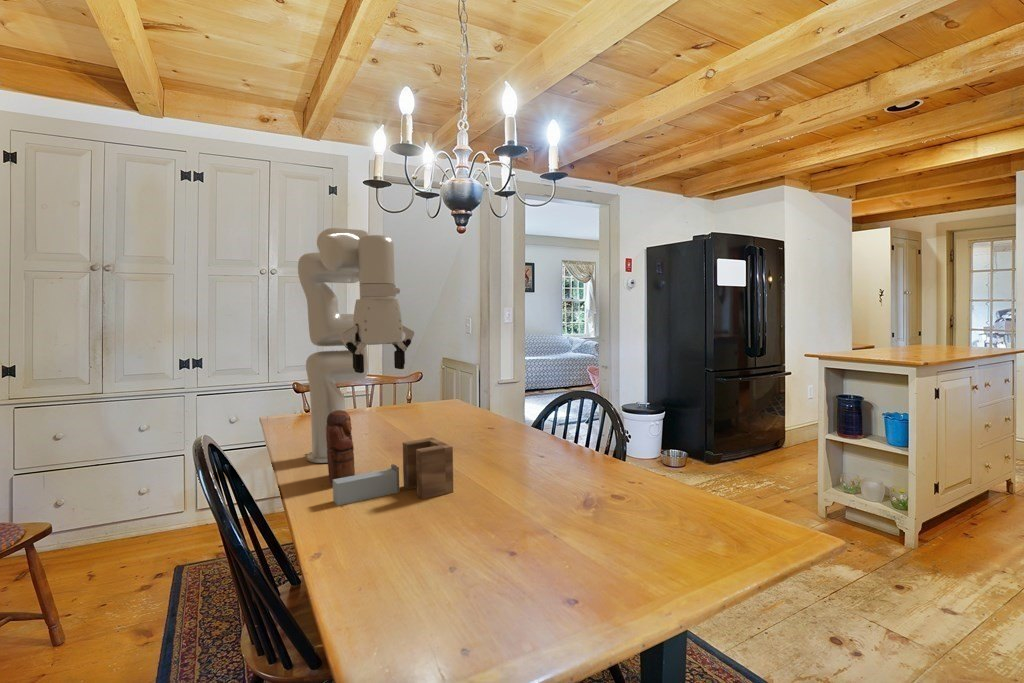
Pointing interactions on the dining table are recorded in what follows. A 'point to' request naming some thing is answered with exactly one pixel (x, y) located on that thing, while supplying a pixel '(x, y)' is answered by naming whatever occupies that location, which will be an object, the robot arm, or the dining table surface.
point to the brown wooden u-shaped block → (428, 467)
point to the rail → (366, 486)
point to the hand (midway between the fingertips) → (379, 370)
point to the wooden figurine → (339, 445)
